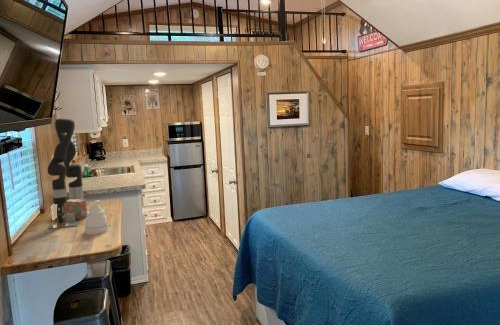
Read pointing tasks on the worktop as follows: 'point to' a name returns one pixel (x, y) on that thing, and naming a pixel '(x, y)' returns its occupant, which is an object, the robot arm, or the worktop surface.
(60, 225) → the walnut cube
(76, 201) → the stack of blocks
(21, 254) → the worktop surface
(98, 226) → the white tiered cone
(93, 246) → the worktop surface
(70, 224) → the slate board
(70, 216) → the sage cube
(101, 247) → the worktop surface
